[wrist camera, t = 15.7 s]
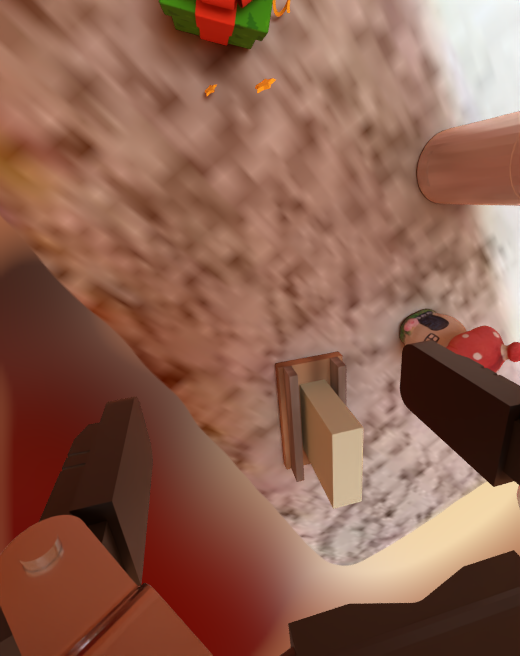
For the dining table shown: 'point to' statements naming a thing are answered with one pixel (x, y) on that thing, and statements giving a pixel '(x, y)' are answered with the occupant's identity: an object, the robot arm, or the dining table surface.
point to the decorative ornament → (459, 338)
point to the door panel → (332, 443)
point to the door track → (290, 403)
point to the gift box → (224, 22)
